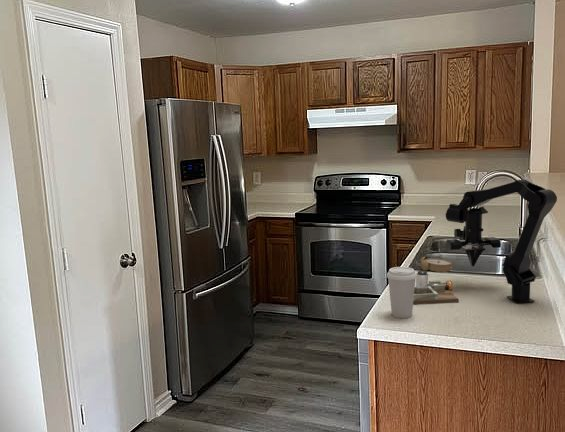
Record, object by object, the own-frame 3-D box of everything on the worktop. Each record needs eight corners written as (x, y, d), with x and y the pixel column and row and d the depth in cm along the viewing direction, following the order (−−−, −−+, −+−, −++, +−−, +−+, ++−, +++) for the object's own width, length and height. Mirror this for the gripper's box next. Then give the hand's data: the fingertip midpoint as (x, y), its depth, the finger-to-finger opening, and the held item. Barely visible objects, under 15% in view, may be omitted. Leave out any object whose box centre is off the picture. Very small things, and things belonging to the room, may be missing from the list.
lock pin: (452, 292, 184) (452, 282, 184) (427, 294, 184) (427, 283, 184) (448, 289, 188) (449, 279, 188) (424, 290, 188) (424, 280, 188)
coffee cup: (381, 315, 166) (380, 270, 164) (397, 307, 173) (397, 264, 170) (406, 322, 159) (406, 275, 157) (422, 313, 166) (422, 269, 164)
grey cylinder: (416, 297, 178) (417, 273, 177) (414, 293, 182) (415, 270, 180) (428, 297, 178) (429, 273, 176) (426, 294, 182) (427, 270, 180)
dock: (458, 302, 175) (458, 291, 175) (412, 304, 175) (412, 294, 175) (444, 289, 189) (444, 280, 189) (401, 292, 189) (401, 282, 189)
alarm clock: (453, 266, 211) (416, 259, 215) (451, 277, 212) (414, 270, 216) (451, 259, 222) (416, 253, 225) (449, 270, 223) (414, 263, 226)
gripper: (488, 219, 195) (487, 259, 197) (440, 222, 194) (440, 261, 196) (502, 225, 184) (501, 267, 186) (451, 227, 183) (451, 269, 185)
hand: (472, 266), depth 189 cm, fingers closed
